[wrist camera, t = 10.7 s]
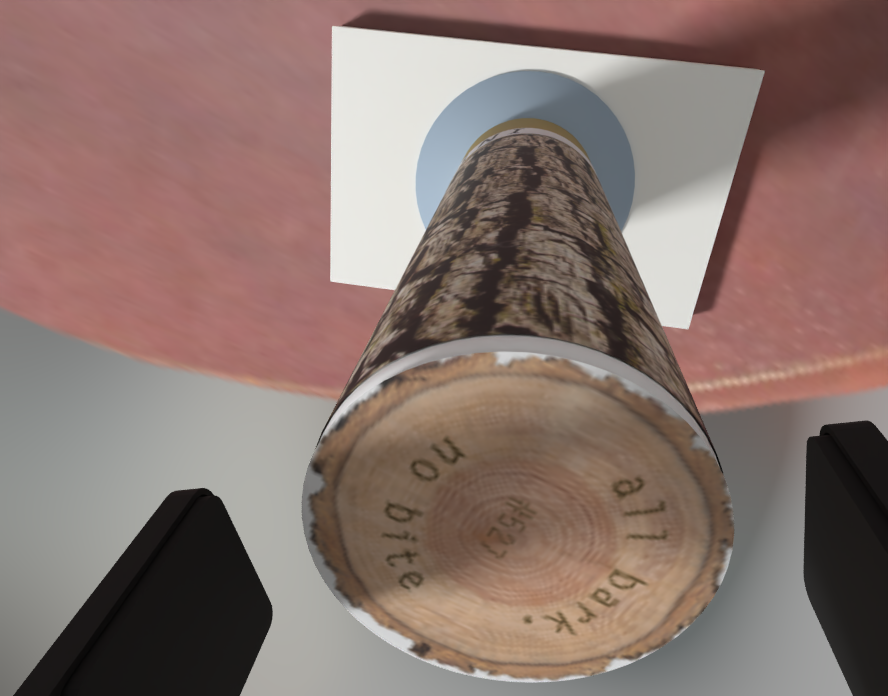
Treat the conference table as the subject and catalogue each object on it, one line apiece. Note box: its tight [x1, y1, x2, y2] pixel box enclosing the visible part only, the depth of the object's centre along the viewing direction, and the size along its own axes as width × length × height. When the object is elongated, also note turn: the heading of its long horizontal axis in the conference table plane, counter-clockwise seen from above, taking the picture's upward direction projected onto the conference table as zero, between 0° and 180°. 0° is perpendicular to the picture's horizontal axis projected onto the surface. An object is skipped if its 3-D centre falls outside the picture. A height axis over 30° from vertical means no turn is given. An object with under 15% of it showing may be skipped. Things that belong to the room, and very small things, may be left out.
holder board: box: [330, 26, 765, 329], centre depth 33 cm, size 20×13×2 cm, turn 85°
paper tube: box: [302, 118, 734, 682], centre depth 21 cm, size 7×7×25 cm
